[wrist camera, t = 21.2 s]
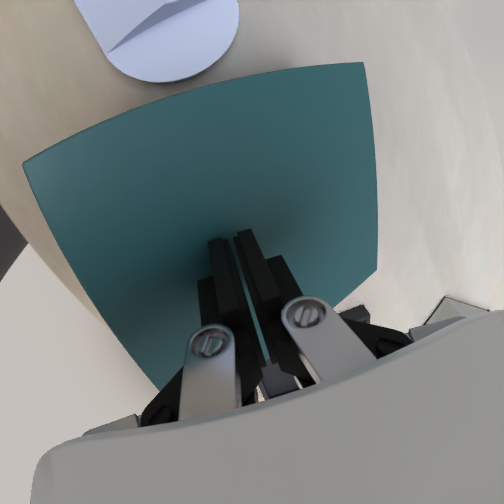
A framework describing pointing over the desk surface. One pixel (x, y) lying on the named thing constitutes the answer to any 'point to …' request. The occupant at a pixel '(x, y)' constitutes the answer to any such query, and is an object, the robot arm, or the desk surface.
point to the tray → (284, 383)
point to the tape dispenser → (162, 35)
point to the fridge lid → (214, 198)
